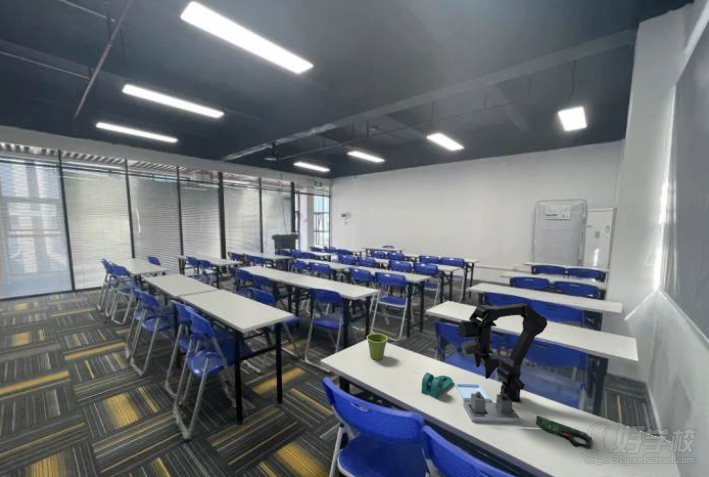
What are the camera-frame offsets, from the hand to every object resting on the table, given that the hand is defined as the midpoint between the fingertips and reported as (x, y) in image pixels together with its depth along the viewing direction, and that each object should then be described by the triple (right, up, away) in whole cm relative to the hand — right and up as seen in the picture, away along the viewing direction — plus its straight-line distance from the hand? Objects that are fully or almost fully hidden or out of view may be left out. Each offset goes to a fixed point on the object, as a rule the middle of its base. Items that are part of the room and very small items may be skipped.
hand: (482, 372), depth 118 cm
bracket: (-15, -12, +10) cm, 22 cm away
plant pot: (-41, -10, +39) cm, 57 cm away
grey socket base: (0, -13, -8) cm, 15 cm away
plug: (-6, -12, -8) cm, 16 cm away
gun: (+21, -15, -17) cm, 31 cm away
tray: (-2, -12, +6) cm, 14 cm away
